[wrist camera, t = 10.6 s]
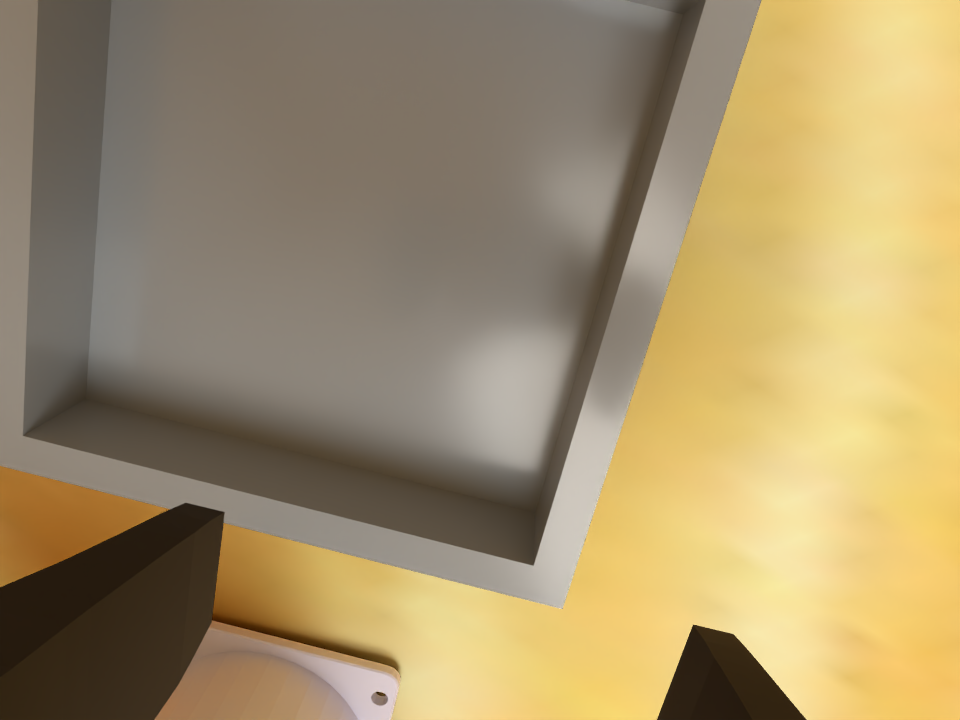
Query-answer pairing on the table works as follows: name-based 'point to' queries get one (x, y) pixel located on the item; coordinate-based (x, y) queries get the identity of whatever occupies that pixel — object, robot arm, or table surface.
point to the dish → (349, 258)
